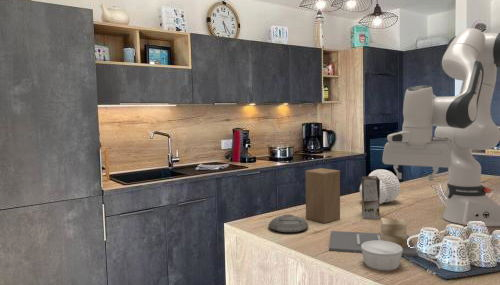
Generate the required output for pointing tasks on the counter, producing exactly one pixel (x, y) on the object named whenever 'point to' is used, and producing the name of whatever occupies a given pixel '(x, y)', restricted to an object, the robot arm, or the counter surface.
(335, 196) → the wooden block
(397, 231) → the maple cube
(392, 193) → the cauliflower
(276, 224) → the flying saucer
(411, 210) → the counter surface
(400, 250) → the ramekin
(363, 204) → the coffee box
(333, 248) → the rubber mat
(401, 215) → the counter surface
